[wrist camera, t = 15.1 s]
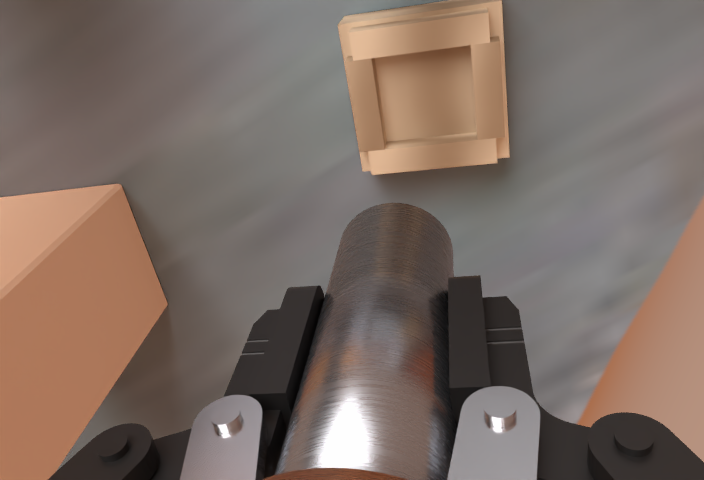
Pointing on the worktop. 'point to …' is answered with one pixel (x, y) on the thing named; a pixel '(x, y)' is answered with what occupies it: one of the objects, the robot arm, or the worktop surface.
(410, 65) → the pin block
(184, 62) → the worktop surface
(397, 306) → the pin
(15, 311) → the soap dispenser
